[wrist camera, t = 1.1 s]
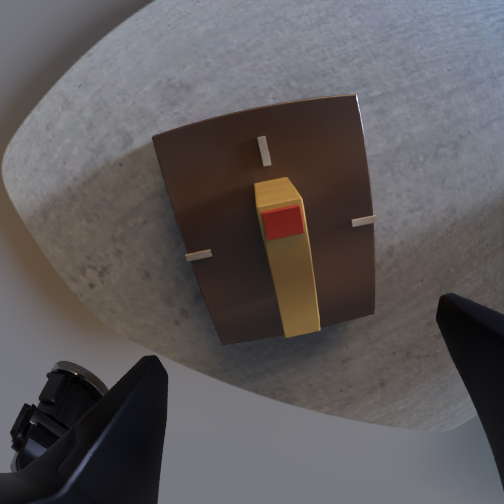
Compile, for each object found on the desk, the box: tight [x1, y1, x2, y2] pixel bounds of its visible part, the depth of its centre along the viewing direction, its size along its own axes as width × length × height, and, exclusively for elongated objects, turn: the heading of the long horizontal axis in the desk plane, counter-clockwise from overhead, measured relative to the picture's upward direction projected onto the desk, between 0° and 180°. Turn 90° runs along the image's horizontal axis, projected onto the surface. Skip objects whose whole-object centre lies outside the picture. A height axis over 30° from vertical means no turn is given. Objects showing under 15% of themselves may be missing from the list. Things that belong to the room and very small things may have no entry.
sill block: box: [152, 94, 377, 345], centre depth 16 cm, size 13×10×3 cm
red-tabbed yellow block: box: [254, 177, 320, 338], centre depth 12 cm, size 6×2×4 cm, turn 13°
